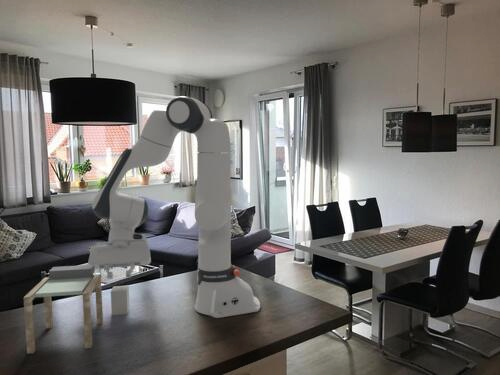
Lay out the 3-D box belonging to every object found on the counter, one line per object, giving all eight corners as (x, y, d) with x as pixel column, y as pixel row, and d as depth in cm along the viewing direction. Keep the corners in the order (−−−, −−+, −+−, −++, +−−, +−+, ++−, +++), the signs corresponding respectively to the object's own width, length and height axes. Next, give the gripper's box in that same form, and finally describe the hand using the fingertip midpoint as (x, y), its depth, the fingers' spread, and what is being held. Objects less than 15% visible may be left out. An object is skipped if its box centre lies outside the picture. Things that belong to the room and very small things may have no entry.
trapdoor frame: (102, 322, 125) (100, 274, 124) (91, 348, 109) (88, 293, 107) (47, 326, 123) (44, 277, 121) (27, 353, 106) (23, 297, 105)
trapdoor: (94, 276, 125) (94, 264, 125) (82, 294, 109) (81, 281, 109) (53, 278, 123) (53, 267, 123) (35, 297, 107) (34, 284, 107)
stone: (129, 308, 136) (128, 285, 136) (127, 314, 131) (126, 290, 131) (114, 309, 135) (113, 286, 135) (111, 315, 131) (110, 291, 130)
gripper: (88, 239, 136) (83, 275, 127) (149, 234, 139) (149, 270, 131) (92, 248, 141) (88, 284, 132) (151, 244, 144) (151, 279, 136)
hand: (119, 277), depth 132 cm, fingers open, 5 cm apart
